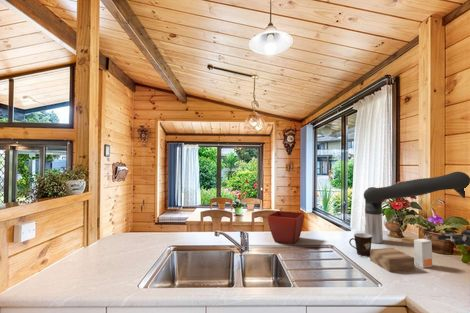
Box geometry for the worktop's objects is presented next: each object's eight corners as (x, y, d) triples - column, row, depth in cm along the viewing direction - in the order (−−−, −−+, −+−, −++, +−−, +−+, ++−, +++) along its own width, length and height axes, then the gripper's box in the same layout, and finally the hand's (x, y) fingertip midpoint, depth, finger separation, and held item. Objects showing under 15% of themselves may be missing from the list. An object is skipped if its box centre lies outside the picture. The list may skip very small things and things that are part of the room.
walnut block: (370, 261, 130) (370, 249, 130) (393, 259, 131) (392, 247, 131) (389, 272, 116) (389, 259, 116) (414, 271, 117) (414, 257, 117)
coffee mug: (370, 251, 142) (369, 233, 143) (374, 257, 134) (373, 237, 134) (347, 250, 145) (346, 232, 146) (350, 255, 137) (349, 236, 137)
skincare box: (423, 268, 119) (421, 242, 119) (414, 265, 123) (413, 239, 123) (433, 266, 121) (431, 240, 121) (424, 263, 125) (423, 238, 125)
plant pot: (297, 246, 154) (296, 218, 155) (267, 242, 164) (266, 215, 164) (305, 238, 171) (304, 212, 171) (278, 235, 180) (277, 210, 181)
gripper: (461, 226, 132) (432, 228, 130) (492, 233, 118) (460, 236, 116) (462, 241, 132) (433, 243, 130) (493, 250, 118) (461, 253, 116)
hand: (446, 240), depth 123 cm, fingers open, 8 cm apart
